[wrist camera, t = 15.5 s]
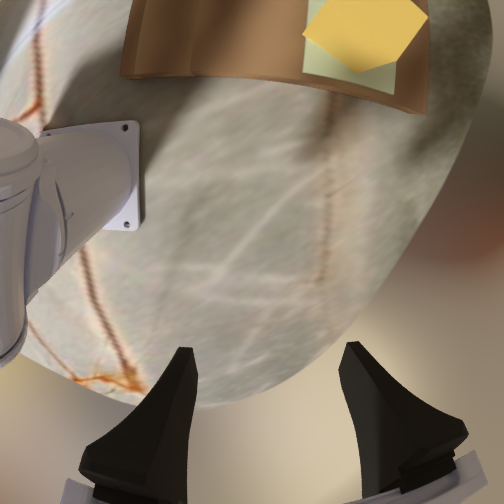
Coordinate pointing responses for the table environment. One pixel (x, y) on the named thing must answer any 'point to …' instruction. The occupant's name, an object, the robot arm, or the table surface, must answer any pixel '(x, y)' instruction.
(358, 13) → the block
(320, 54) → the pad
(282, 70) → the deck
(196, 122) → the table surface
